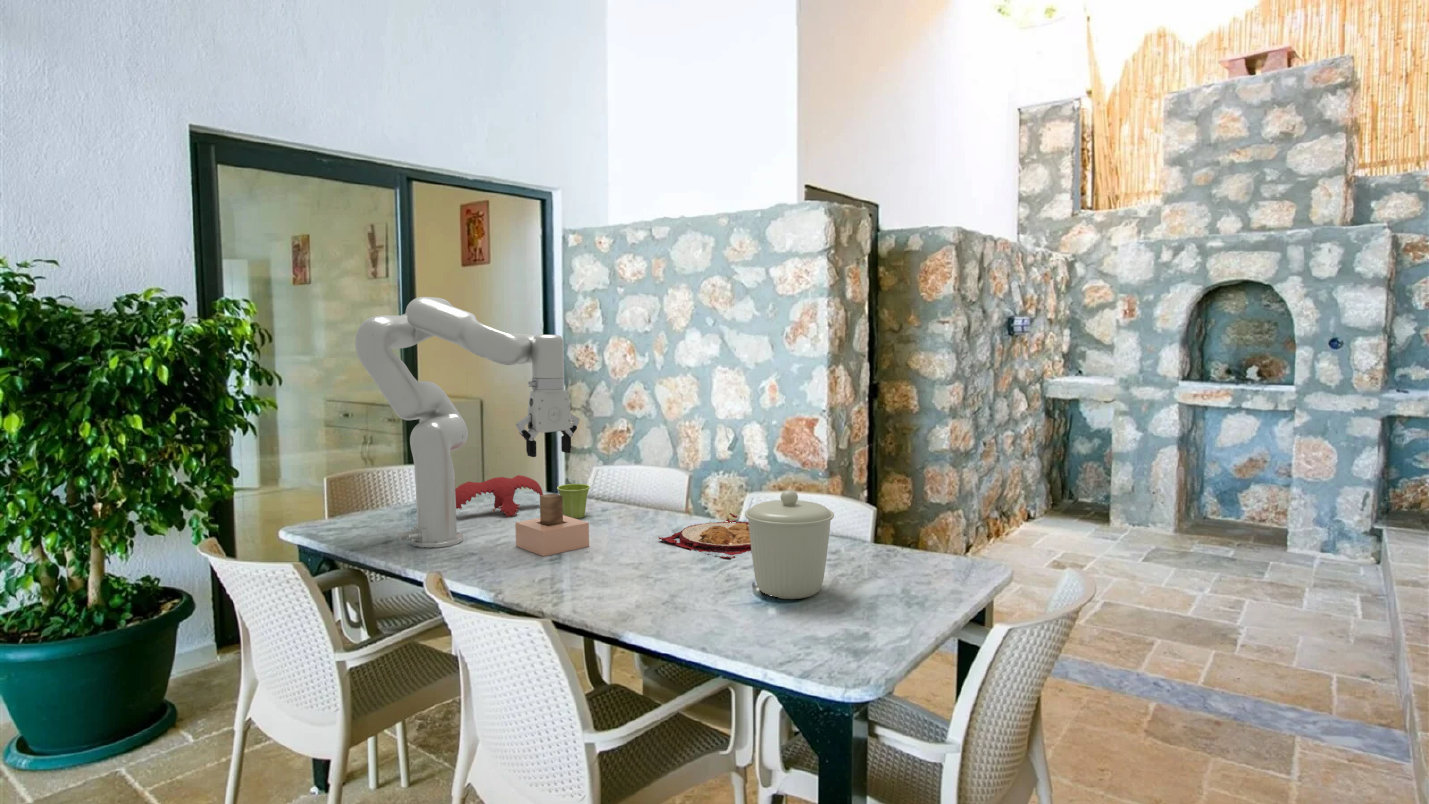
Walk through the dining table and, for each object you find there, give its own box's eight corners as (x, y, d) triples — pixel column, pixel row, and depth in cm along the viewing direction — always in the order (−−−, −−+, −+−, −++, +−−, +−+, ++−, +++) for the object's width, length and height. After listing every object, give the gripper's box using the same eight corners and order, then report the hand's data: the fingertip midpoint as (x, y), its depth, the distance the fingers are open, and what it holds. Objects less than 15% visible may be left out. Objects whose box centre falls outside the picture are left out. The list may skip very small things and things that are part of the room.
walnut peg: (549, 546, 207) (548, 497, 206) (541, 543, 210) (539, 495, 209) (563, 543, 210) (562, 495, 209) (554, 540, 213) (553, 493, 212)
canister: (762, 610, 162) (762, 502, 160) (733, 583, 179) (733, 485, 177) (848, 601, 167) (849, 496, 165) (812, 575, 184) (813, 480, 182)
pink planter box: (543, 556, 201) (542, 531, 200) (516, 546, 211) (515, 522, 210) (589, 546, 210) (588, 522, 209) (560, 536, 219) (560, 514, 219)
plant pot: (597, 515, 244) (596, 485, 243) (575, 521, 236) (575, 491, 235) (572, 511, 249) (572, 482, 248) (550, 518, 241) (550, 488, 240)
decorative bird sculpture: (548, 521, 255) (531, 481, 262) (559, 504, 250) (541, 463, 256) (458, 537, 237) (443, 493, 244) (467, 519, 232) (451, 474, 238)
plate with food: (656, 544, 214) (656, 531, 214) (728, 524, 233) (728, 511, 232) (727, 565, 197) (727, 550, 197) (798, 540, 216) (798, 527, 215)
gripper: (524, 387, 198) (525, 460, 199) (586, 384, 210) (587, 452, 211) (508, 385, 203) (510, 456, 205) (569, 382, 215) (570, 449, 217)
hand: (549, 454), depth 208 cm, fingers open, 9 cm apart
